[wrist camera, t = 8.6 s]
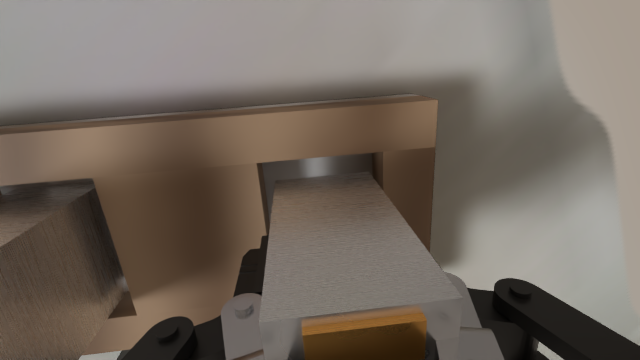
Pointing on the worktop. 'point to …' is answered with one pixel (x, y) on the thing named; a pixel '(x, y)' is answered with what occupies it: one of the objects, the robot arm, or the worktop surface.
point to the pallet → (216, 187)
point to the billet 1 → (55, 271)
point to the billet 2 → (350, 277)
